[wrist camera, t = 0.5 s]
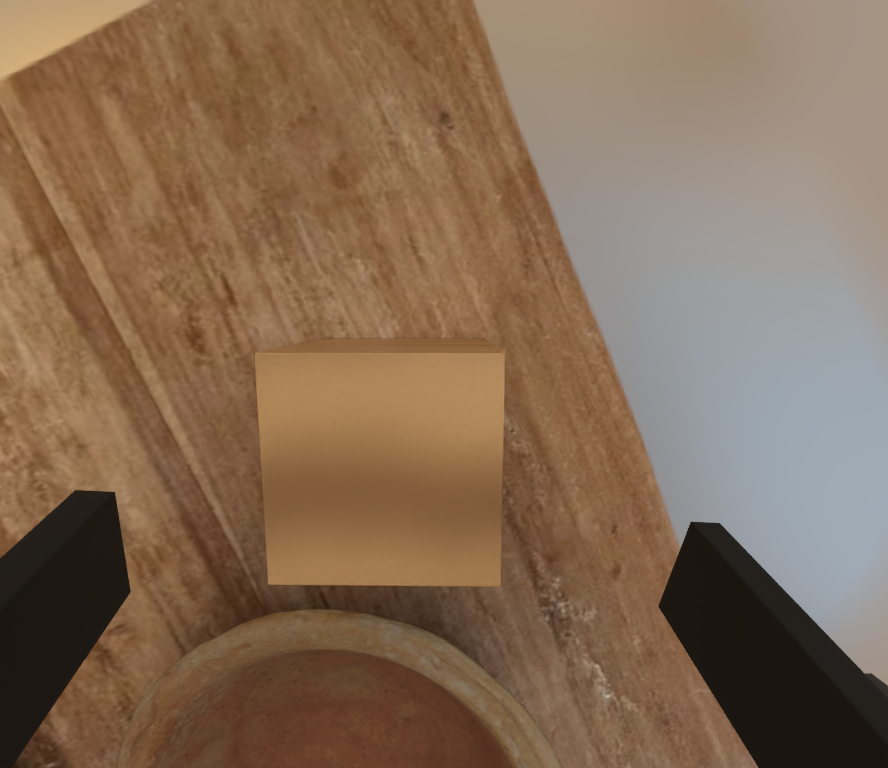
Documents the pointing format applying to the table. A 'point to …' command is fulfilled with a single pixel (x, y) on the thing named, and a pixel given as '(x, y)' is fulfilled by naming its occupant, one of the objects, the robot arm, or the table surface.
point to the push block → (382, 461)
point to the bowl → (331, 702)
